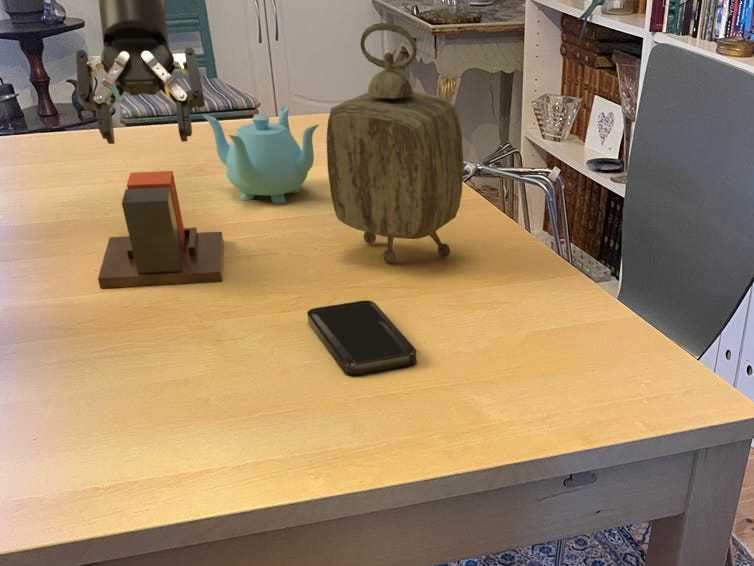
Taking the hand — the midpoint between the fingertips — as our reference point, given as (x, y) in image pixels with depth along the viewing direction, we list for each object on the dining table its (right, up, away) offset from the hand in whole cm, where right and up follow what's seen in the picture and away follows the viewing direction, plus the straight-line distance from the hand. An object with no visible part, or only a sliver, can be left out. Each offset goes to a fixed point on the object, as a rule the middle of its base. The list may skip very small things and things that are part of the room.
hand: (147, 139), depth 112 cm
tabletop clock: (+29, -12, +6) cm, 32 cm away
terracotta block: (+1, -11, +5) cm, 12 cm away
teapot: (+9, +5, +24) cm, 27 cm away
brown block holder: (+1, -14, +4) cm, 14 cm away
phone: (+27, -28, -12) cm, 41 cm away
